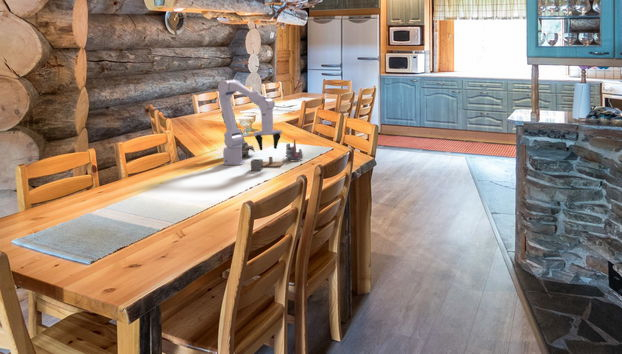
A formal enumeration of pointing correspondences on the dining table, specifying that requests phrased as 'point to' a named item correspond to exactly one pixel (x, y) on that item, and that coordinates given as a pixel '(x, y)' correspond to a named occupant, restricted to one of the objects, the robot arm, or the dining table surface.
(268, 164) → the shaft block
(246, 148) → the statue
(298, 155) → the red grey chunky piece
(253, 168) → the collar
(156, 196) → the dining table surface
